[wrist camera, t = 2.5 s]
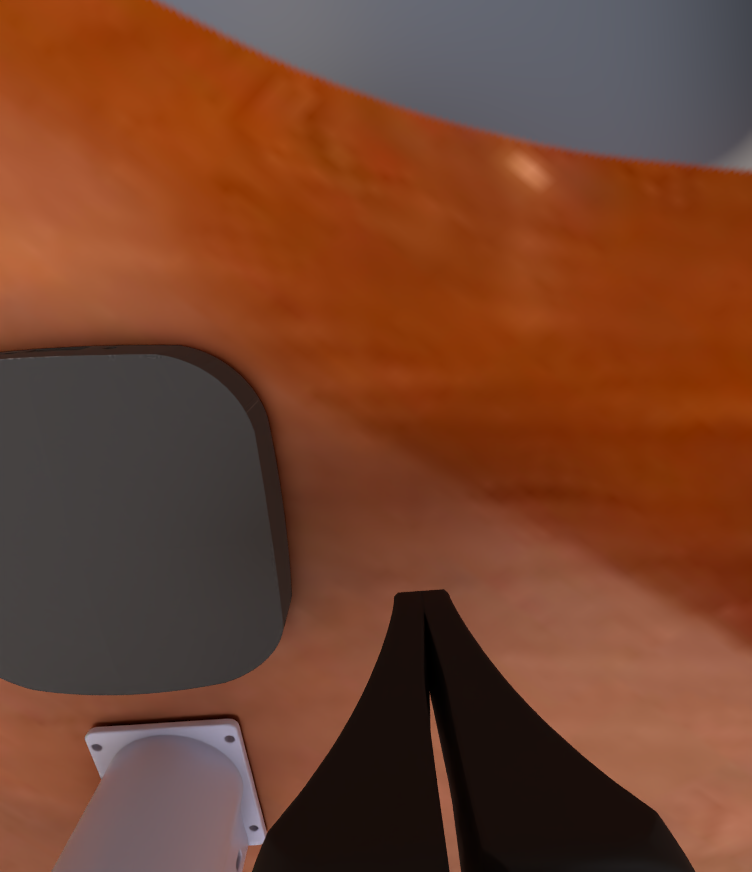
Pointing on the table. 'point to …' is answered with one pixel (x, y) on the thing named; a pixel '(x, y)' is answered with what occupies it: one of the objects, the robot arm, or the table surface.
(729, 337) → the table surface
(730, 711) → the table surface
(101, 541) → the media streaming box
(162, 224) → the table surface
